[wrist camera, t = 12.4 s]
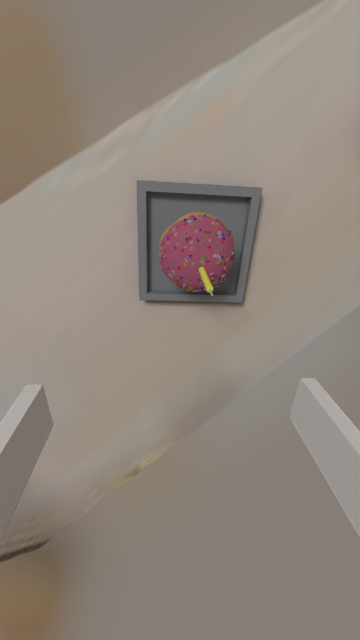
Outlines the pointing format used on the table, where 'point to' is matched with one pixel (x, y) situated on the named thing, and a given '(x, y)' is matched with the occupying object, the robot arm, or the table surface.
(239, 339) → the table surface
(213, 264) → the cupcake
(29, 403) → the robot arm
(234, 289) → the tray
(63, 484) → the table surface
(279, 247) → the table surface
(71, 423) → the table surface
